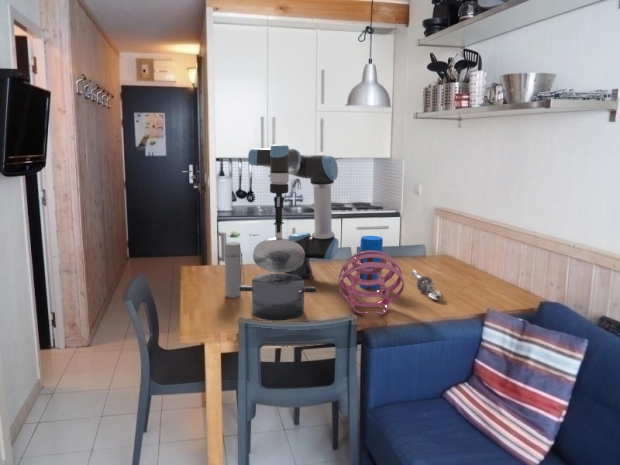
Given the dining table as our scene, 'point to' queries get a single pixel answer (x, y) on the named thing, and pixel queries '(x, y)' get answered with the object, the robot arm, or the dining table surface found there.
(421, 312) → the dining table surface
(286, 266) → the lid
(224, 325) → the dining table surface
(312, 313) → the dining table surface
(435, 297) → the spaceship
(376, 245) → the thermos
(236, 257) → the water bottle
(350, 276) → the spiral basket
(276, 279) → the pot
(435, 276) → the dining table surface
